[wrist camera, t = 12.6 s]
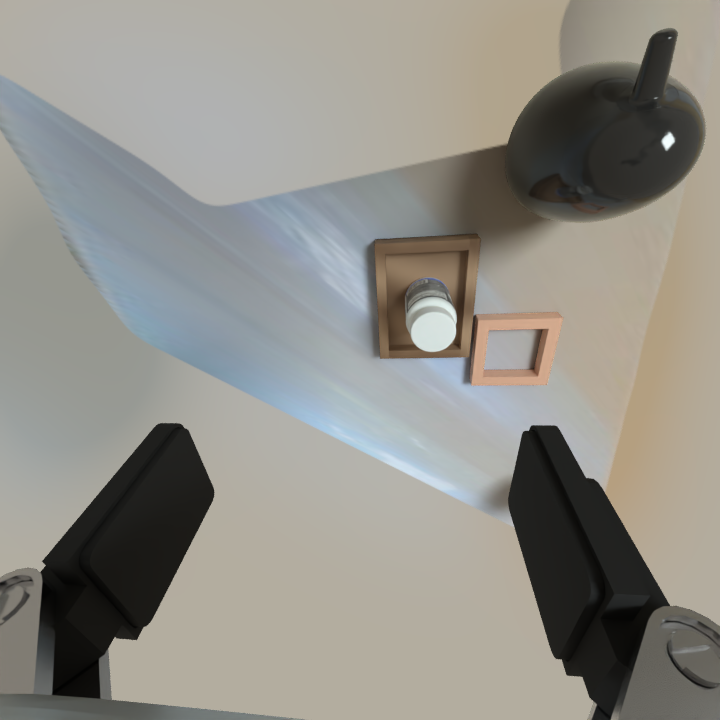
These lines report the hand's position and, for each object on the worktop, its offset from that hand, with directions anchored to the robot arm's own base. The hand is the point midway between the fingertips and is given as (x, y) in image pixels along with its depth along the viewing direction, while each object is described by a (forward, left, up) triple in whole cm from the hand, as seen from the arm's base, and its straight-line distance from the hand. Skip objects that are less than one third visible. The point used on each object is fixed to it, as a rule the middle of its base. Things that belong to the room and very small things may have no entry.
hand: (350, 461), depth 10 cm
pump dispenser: (-6, +15, -31) cm, 35 cm away
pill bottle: (+7, +4, -30) cm, 31 cm away
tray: (+8, +4, -30) cm, 31 cm away
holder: (+14, +14, -30) cm, 36 cm away
